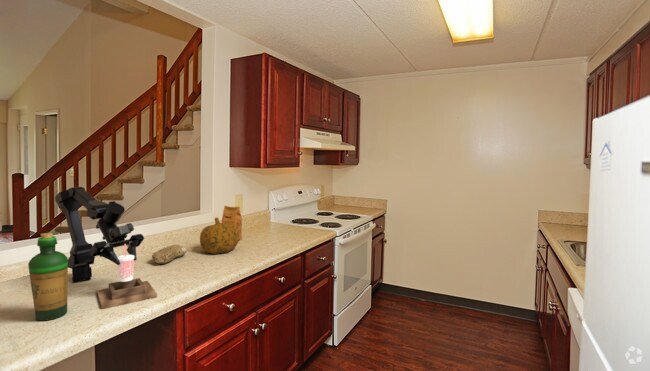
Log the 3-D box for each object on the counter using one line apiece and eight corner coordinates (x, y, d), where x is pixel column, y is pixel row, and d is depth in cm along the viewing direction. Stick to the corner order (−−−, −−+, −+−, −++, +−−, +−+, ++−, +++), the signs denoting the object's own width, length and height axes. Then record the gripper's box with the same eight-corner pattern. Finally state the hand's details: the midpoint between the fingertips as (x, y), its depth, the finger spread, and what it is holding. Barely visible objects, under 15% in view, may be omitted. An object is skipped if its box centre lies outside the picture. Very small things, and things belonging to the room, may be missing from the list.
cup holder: (102, 309, 125) (101, 297, 125) (97, 293, 139) (96, 282, 139) (157, 297, 136) (156, 286, 135) (147, 283, 150) (147, 273, 150)
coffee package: (228, 237, 235) (227, 204, 233) (244, 239, 230) (243, 205, 228) (218, 240, 225) (217, 206, 223) (235, 242, 221) (234, 207, 219)
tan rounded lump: (172, 256, 195) (140, 258, 177) (176, 242, 195) (145, 243, 177) (189, 264, 189) (158, 266, 171) (193, 250, 190) (163, 251, 171)
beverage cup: (129, 275, 141) (127, 241, 140) (138, 278, 138) (137, 243, 137) (113, 280, 136) (112, 244, 135) (123, 283, 133) (122, 246, 132)
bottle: (26, 325, 113) (20, 238, 110) (37, 311, 123) (32, 231, 120) (66, 319, 117) (61, 235, 115) (74, 306, 127) (70, 229, 124)
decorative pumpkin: (242, 252, 195) (238, 216, 193) (202, 259, 188) (197, 222, 186) (238, 245, 214) (234, 212, 212) (201, 251, 207) (197, 217, 205)
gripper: (92, 221, 129) (110, 255, 125) (140, 214, 145) (158, 244, 141) (81, 239, 134) (99, 273, 129) (129, 230, 150) (147, 260, 145)
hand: (127, 262), depth 136 cm, fingers closed on beverage cup, 6 cm apart
